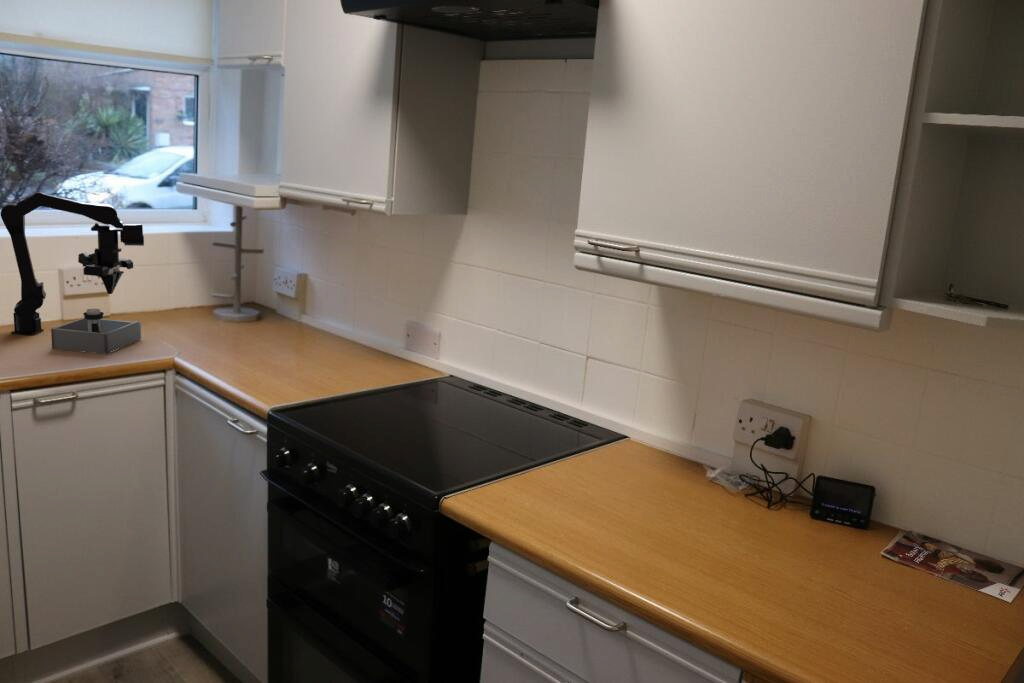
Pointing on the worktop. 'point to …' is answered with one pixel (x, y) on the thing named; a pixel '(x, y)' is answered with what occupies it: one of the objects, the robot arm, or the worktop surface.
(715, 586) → the worktop surface
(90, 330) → the push button
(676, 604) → the worktop surface
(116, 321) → the tray
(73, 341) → the dock
